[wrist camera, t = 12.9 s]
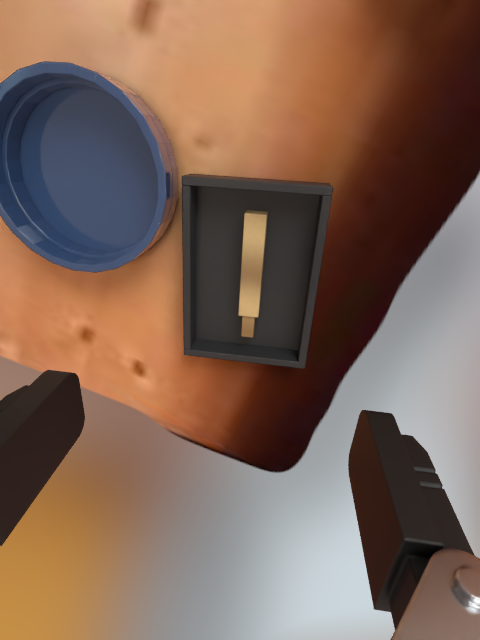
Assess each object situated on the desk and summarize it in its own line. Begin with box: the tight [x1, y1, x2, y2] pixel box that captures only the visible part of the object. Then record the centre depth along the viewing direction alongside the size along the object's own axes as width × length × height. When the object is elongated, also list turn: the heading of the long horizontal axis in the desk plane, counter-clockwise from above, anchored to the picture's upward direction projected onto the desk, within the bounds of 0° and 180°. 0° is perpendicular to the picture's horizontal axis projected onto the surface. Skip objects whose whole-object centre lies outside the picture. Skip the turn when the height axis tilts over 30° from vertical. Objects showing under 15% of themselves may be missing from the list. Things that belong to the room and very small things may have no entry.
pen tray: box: [182, 174, 333, 369], centre depth 29 cm, size 14×10×2 cm
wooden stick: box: [238, 210, 268, 337], centre depth 28 cm, size 10×2×2 cm, turn 177°
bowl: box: [0, 61, 178, 272], centre depth 26 cm, size 13×13×4 cm
